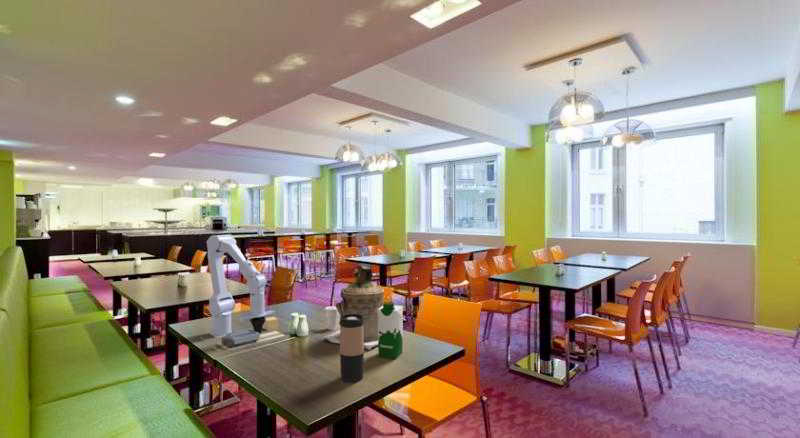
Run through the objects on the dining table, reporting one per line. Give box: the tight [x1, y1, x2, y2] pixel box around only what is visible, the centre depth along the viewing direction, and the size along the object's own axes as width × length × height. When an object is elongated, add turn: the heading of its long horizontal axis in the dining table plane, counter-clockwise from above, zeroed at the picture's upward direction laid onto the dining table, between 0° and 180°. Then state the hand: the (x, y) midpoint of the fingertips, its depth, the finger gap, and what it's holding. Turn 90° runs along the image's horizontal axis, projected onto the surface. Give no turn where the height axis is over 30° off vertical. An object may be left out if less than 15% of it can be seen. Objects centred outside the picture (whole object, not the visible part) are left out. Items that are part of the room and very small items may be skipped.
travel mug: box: [339, 314, 365, 384], centre depth 127 cm, size 8×8×20 cm
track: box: [216, 329, 288, 352], centre depth 165 cm, size 13×25×2 cm, turn 133°
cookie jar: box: [322, 264, 385, 351], centre depth 168 cm, size 25×25×32 cm
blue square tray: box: [225, 328, 260, 346], centre depth 162 cm, size 10×10×3 cm
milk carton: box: [377, 301, 404, 360], centre depth 148 cm, size 9×9×20 cm
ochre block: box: [262, 316, 279, 331], centre depth 181 cm, size 5×5×5 cm
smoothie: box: [324, 298, 339, 331], centre depth 181 cm, size 6×6×14 cm
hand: (257, 335), depth 167 cm, fingers closed
